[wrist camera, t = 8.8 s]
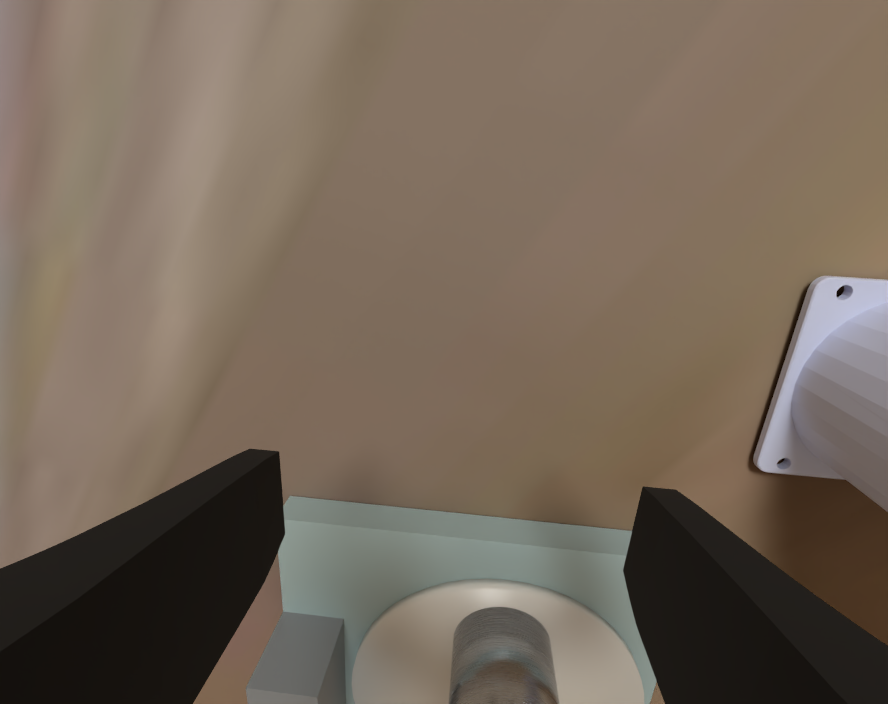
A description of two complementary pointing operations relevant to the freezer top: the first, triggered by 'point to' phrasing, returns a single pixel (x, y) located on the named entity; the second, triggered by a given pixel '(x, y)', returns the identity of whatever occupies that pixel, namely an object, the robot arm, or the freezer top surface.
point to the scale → (441, 604)
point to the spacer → (502, 660)
